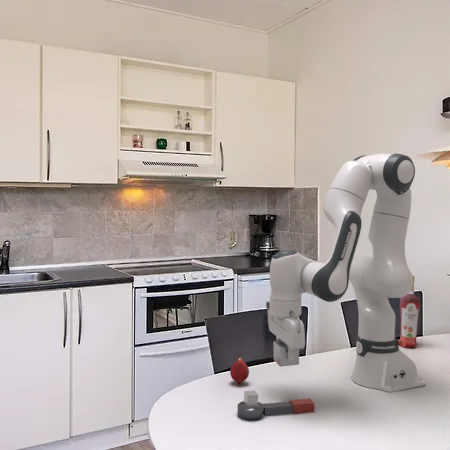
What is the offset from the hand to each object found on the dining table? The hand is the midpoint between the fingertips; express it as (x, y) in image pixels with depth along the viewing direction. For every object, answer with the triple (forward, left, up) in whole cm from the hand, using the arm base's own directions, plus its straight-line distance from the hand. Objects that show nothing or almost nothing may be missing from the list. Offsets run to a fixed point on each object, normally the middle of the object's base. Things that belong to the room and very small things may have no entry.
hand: (286, 355), depth 142 cm
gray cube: (0, 0, -2) cm, 2 cm away
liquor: (-66, -39, -13) cm, 78 cm away
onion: (+10, -14, -13) cm, 21 cm away
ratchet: (+6, +8, -13) cm, 16 cm away
